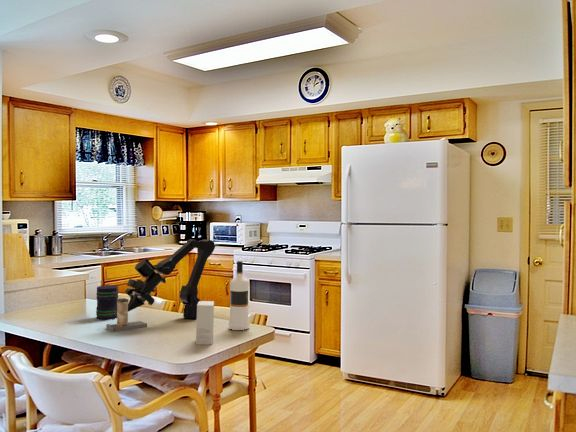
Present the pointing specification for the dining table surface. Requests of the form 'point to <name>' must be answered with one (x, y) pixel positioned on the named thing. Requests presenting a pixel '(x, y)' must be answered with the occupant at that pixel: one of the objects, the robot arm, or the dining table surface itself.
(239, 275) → the vodka
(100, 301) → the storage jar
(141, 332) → the dining table surface
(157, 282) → the robot arm
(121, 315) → the lever
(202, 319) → the skincare box
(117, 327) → the fader track
